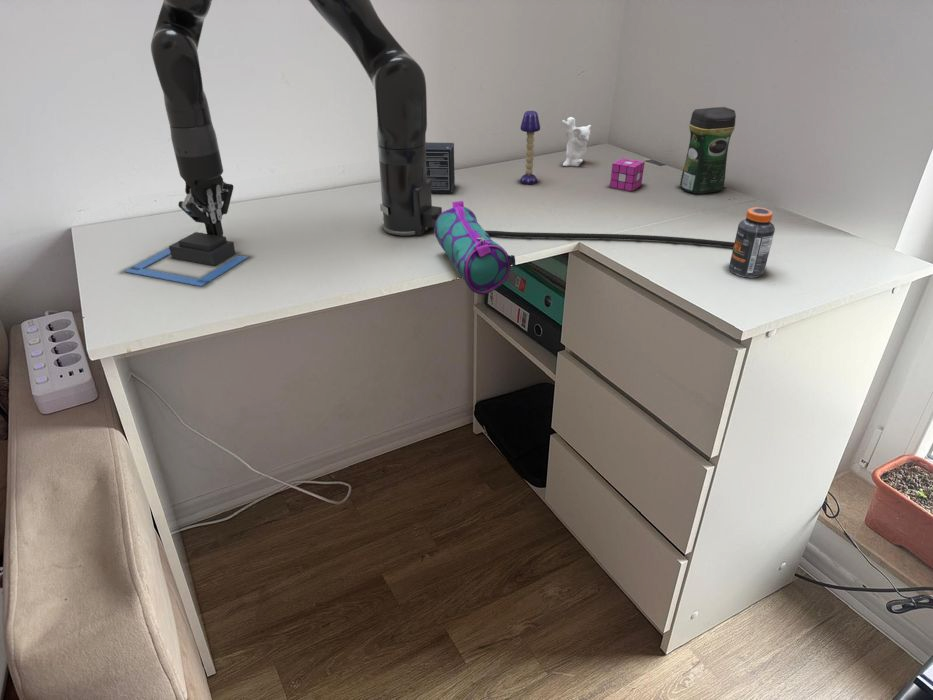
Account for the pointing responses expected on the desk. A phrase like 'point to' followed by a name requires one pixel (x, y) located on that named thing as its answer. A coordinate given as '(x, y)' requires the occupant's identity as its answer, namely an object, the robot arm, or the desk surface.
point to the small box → (440, 166)
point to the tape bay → (177, 278)
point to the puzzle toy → (627, 174)
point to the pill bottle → (752, 243)
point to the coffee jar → (708, 149)
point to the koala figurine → (576, 142)
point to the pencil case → (472, 249)
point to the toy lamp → (529, 144)
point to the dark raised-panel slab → (202, 248)
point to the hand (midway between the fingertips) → (216, 239)
